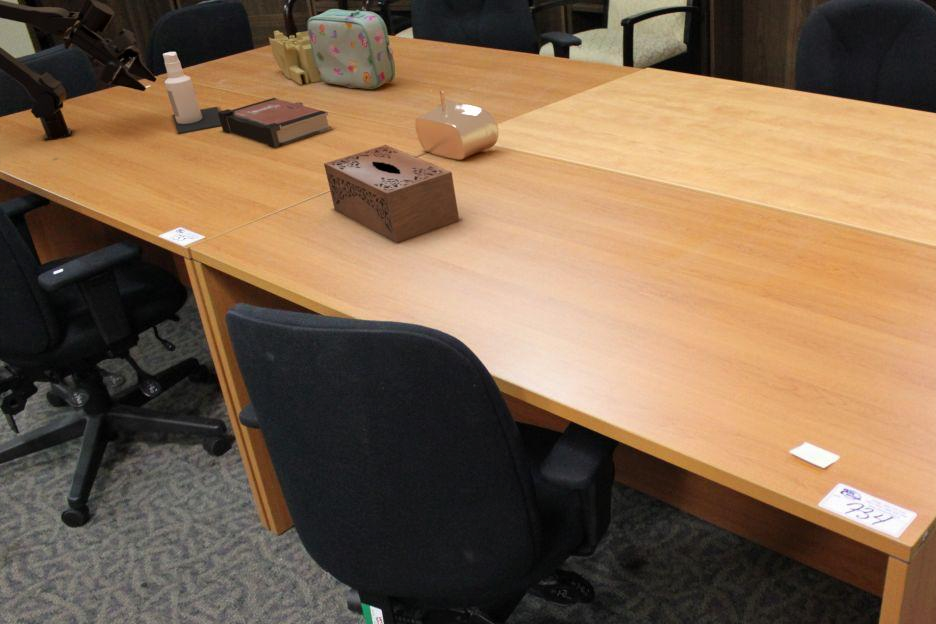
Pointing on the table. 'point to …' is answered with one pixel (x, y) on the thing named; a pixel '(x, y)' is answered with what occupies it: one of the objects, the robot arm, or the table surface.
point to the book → (274, 122)
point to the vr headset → (456, 130)
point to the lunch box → (351, 48)
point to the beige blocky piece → (295, 57)
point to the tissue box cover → (392, 192)
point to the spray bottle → (181, 91)
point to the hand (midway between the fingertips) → (150, 85)
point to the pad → (201, 121)
